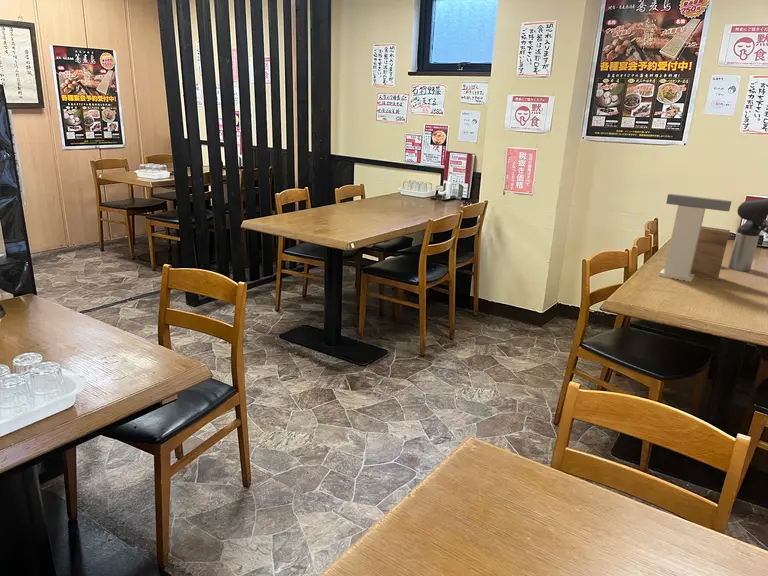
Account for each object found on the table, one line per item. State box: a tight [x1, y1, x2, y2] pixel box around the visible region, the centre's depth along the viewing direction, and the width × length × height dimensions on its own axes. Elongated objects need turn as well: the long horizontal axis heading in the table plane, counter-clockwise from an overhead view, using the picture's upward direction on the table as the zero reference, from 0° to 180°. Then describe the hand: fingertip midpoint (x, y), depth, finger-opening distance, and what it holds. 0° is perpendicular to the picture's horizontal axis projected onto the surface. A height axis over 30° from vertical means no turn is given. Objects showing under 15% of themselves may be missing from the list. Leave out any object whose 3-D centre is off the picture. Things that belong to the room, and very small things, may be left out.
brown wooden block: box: [691, 225, 731, 281], centre depth 255 cm, size 6×18×22 cm, turn 55°
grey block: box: [665, 193, 733, 212], centre depth 242 cm, size 4×24×4 cm, turn 55°
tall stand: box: [659, 205, 706, 283], centre depth 249 cm, size 9×13×32 cm
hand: (753, 217), depth 233 cm, fingers open, 8 cm apart
